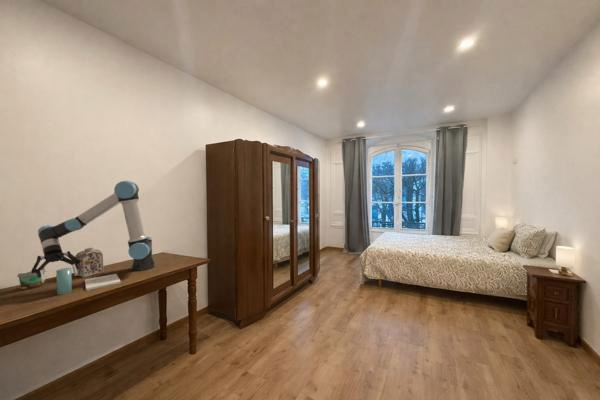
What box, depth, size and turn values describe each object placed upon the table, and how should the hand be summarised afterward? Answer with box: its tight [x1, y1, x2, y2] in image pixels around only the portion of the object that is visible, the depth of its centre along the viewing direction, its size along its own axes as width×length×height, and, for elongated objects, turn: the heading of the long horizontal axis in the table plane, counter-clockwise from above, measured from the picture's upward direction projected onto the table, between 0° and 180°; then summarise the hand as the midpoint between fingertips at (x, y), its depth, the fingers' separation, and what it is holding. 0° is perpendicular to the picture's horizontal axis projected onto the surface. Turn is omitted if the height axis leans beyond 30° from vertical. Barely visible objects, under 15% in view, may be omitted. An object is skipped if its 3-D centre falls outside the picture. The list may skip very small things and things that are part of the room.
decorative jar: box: [74, 247, 104, 278], centre depth 168 cm, size 12×12×18 cm
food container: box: [16, 267, 47, 291], centre depth 145 cm, size 12×6×10 cm, turn 168°
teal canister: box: [55, 267, 73, 296], centre depth 136 cm, size 6×6×13 cm
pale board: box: [84, 273, 122, 291], centre depth 151 cm, size 16×20×1 cm
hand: (60, 277), depth 136 cm, fingers open, 13 cm apart
